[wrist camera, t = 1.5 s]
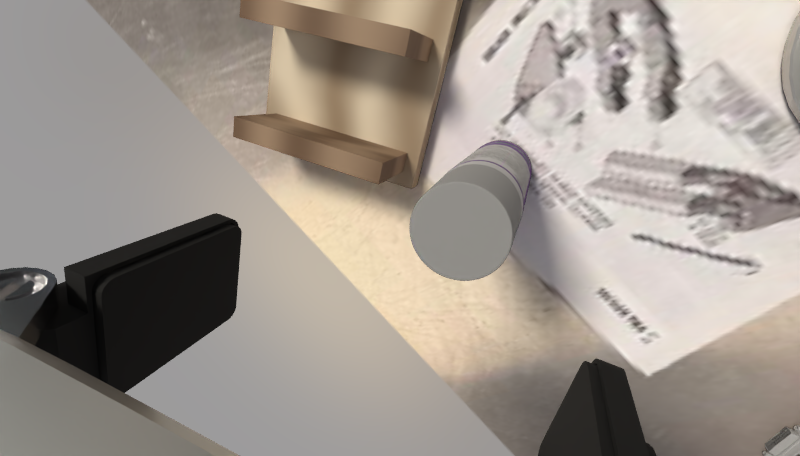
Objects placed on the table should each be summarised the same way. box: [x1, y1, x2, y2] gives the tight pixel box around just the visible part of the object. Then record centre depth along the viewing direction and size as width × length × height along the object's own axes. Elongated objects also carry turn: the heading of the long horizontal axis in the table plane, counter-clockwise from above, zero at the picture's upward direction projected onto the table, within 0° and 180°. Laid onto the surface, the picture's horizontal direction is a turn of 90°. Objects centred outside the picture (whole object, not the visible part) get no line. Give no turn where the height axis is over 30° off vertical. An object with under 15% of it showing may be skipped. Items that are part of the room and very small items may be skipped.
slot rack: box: [233, 0, 463, 189], centre depth 28 cm, size 14×20×6 cm
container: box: [410, 140, 531, 281], centre depth 24 cm, size 5×5×15 cm
